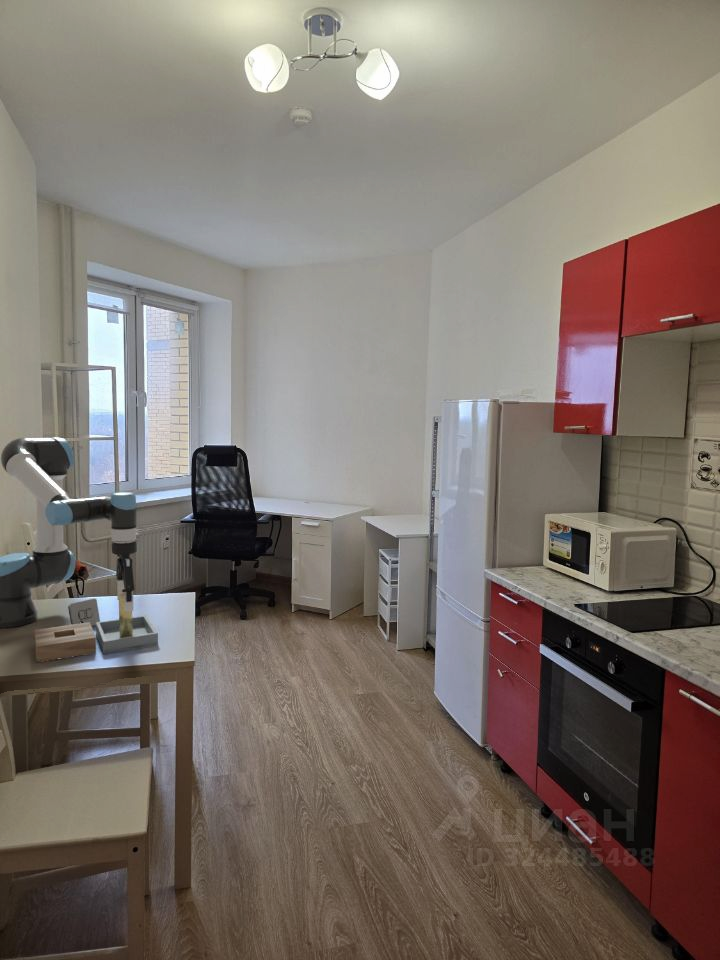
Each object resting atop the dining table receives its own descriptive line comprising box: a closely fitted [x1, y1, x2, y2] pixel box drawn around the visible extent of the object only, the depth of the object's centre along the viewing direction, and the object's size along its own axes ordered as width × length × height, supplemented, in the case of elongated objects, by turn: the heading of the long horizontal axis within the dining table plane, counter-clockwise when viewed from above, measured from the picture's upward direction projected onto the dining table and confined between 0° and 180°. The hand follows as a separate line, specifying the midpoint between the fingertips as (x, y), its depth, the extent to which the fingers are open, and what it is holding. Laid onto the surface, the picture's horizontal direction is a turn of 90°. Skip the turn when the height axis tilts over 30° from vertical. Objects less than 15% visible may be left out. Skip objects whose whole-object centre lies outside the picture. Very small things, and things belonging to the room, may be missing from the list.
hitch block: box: [34, 622, 97, 663], centre depth 185 cm, size 16×16×5 cm
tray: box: [95, 614, 159, 655], centre depth 194 cm, size 20×16×4 cm
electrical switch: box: [67, 598, 101, 627], centre depth 206 cm, size 9×5×9 cm, turn 141°
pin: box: [118, 593, 133, 638], centre depth 194 cm, size 4×4×14 cm
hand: (125, 605), depth 193 cm, fingers open, 13 cm apart
